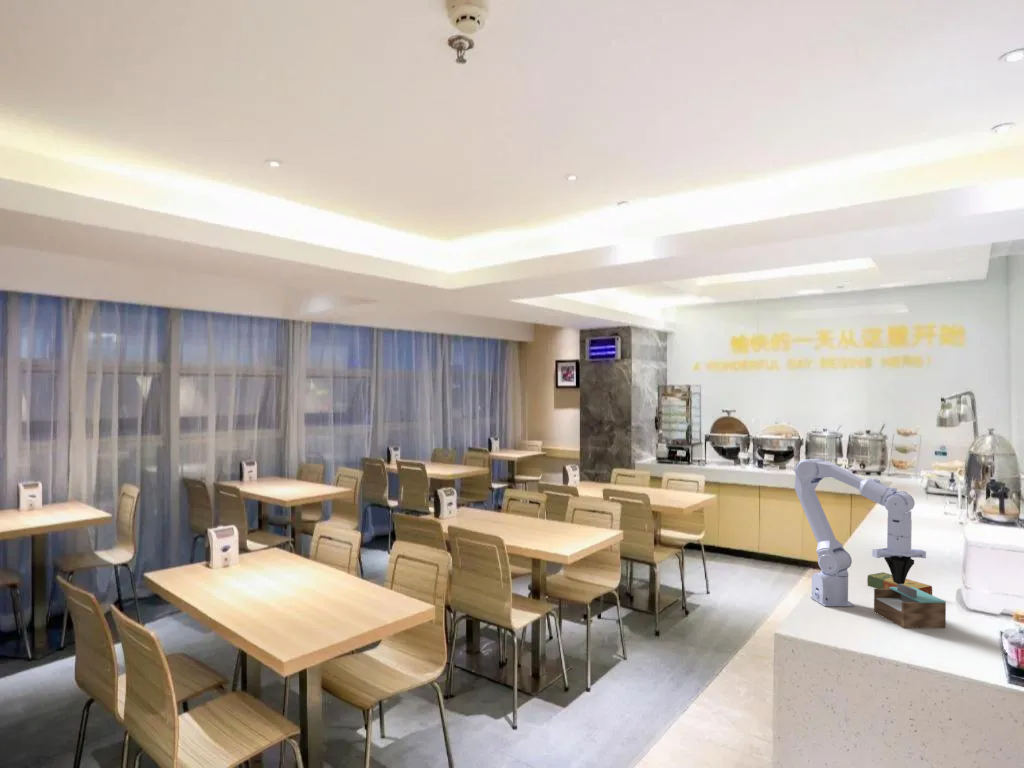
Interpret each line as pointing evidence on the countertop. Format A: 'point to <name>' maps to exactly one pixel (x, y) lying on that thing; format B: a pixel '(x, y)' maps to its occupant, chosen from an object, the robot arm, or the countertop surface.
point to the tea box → (910, 611)
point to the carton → (886, 581)
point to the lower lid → (896, 601)
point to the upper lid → (916, 594)
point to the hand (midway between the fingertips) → (898, 582)
